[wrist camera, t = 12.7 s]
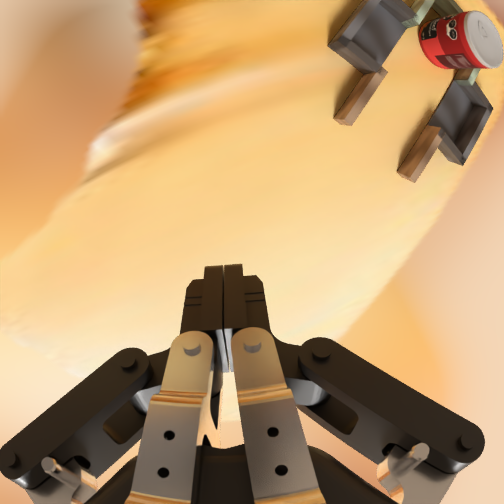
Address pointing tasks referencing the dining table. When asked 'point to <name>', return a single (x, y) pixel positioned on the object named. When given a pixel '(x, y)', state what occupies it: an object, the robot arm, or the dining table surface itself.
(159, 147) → the dining table surface
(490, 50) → the canned food
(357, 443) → the robot arm
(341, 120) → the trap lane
